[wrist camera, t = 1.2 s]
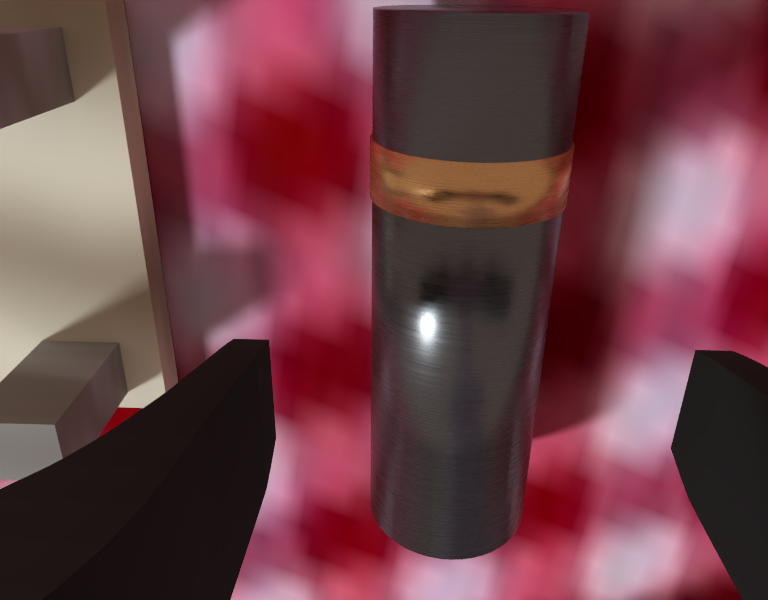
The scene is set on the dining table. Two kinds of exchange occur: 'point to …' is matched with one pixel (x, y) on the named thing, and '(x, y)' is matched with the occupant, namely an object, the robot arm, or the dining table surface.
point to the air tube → (464, 259)
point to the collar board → (74, 234)
